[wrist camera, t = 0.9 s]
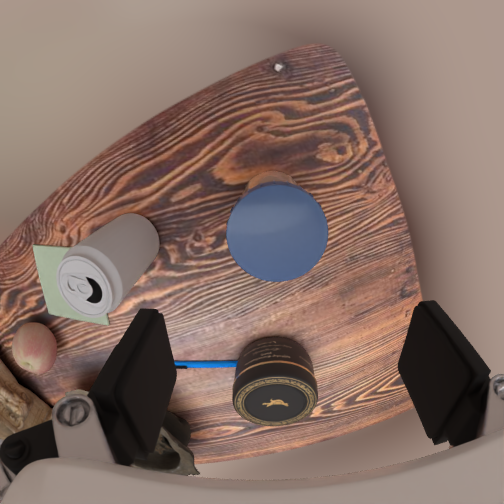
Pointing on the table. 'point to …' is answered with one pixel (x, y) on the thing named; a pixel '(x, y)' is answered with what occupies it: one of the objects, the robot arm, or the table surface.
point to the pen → (204, 364)
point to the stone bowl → (167, 447)
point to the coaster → (47, 270)
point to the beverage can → (107, 265)
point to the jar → (274, 383)
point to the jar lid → (277, 231)
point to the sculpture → (19, 406)
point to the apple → (34, 348)
